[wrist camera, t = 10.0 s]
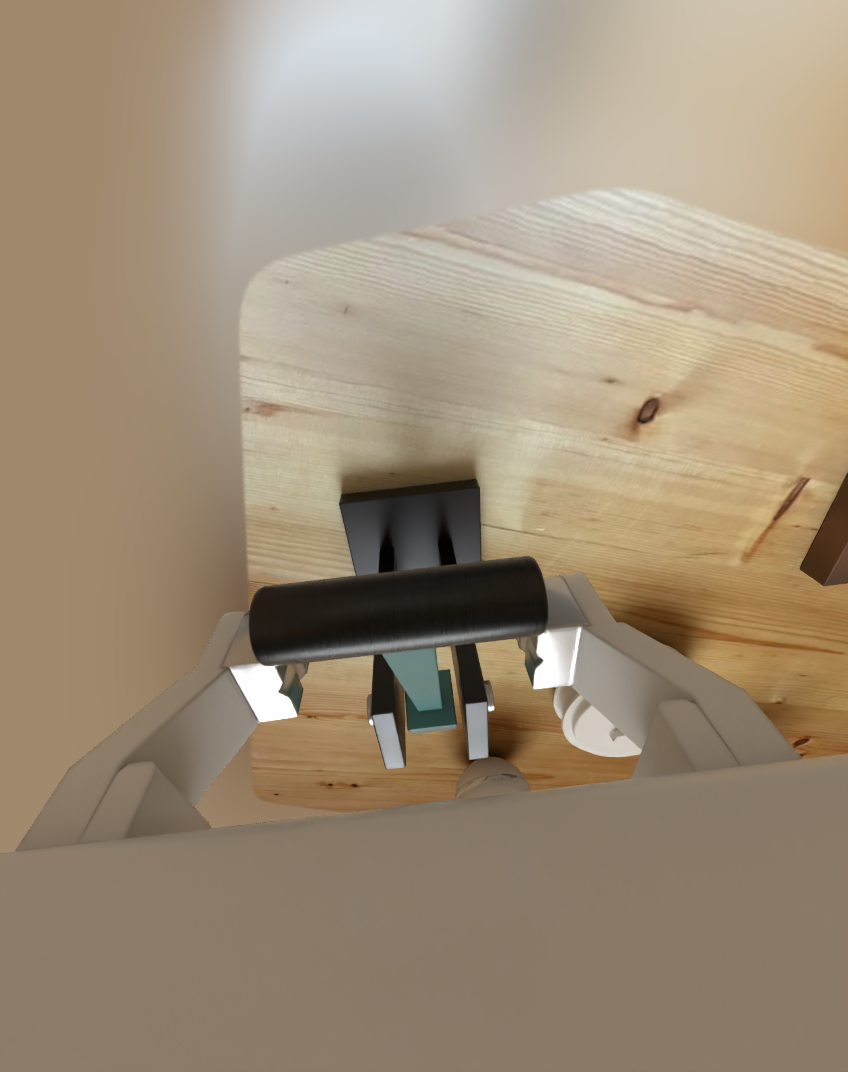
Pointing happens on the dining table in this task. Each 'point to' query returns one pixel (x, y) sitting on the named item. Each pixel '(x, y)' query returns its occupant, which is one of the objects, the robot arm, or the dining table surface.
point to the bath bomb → (490, 779)
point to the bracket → (410, 543)
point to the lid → (590, 725)
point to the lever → (402, 623)
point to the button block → (831, 545)
